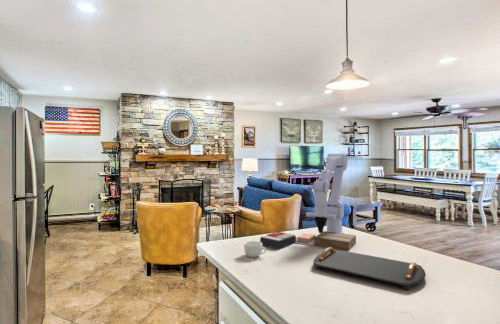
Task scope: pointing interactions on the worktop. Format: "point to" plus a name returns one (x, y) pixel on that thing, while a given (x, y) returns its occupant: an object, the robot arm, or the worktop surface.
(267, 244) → the calculator
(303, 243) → the mat
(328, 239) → the brown flat block
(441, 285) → the worktop surface
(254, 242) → the teacup
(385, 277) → the serving board
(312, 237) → the peach upright slab
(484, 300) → the worktop surface
